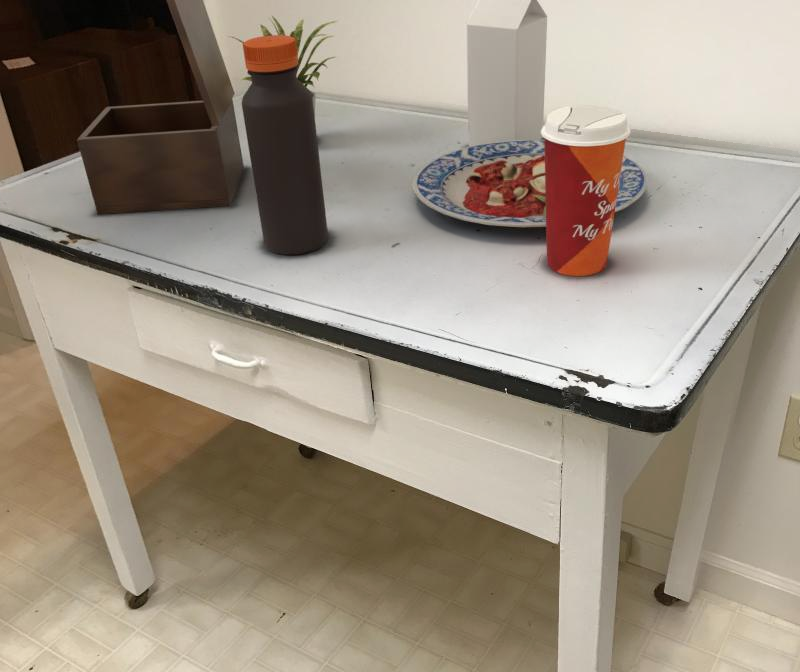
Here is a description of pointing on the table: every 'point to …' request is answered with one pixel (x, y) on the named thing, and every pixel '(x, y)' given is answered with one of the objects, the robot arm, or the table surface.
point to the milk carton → (506, 71)
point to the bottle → (283, 147)
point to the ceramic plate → (503, 183)
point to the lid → (203, 56)
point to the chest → (161, 157)
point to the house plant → (297, 36)
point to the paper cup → (582, 185)
